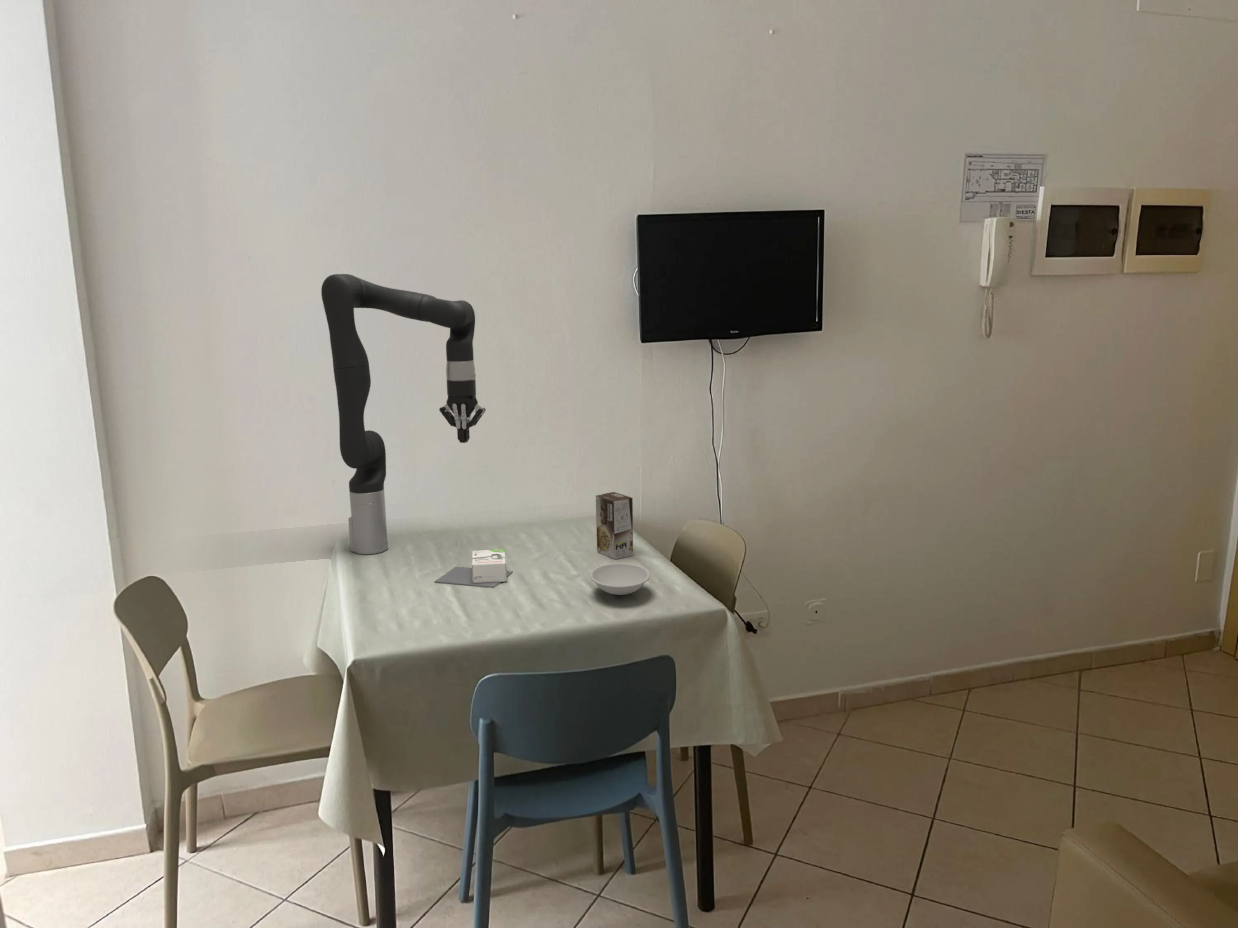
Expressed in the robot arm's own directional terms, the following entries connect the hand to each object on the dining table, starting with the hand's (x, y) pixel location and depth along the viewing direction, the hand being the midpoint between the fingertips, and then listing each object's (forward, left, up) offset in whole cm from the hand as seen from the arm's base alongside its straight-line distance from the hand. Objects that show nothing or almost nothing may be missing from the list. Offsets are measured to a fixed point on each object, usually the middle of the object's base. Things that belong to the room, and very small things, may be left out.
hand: (463, 442), depth 246 cm
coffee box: (+39, +9, -31) cm, 51 cm away
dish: (+49, -21, -31) cm, 62 cm away
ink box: (+11, -11, -28) cm, 32 cm away
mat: (+10, -18, -31) cm, 37 cm away
